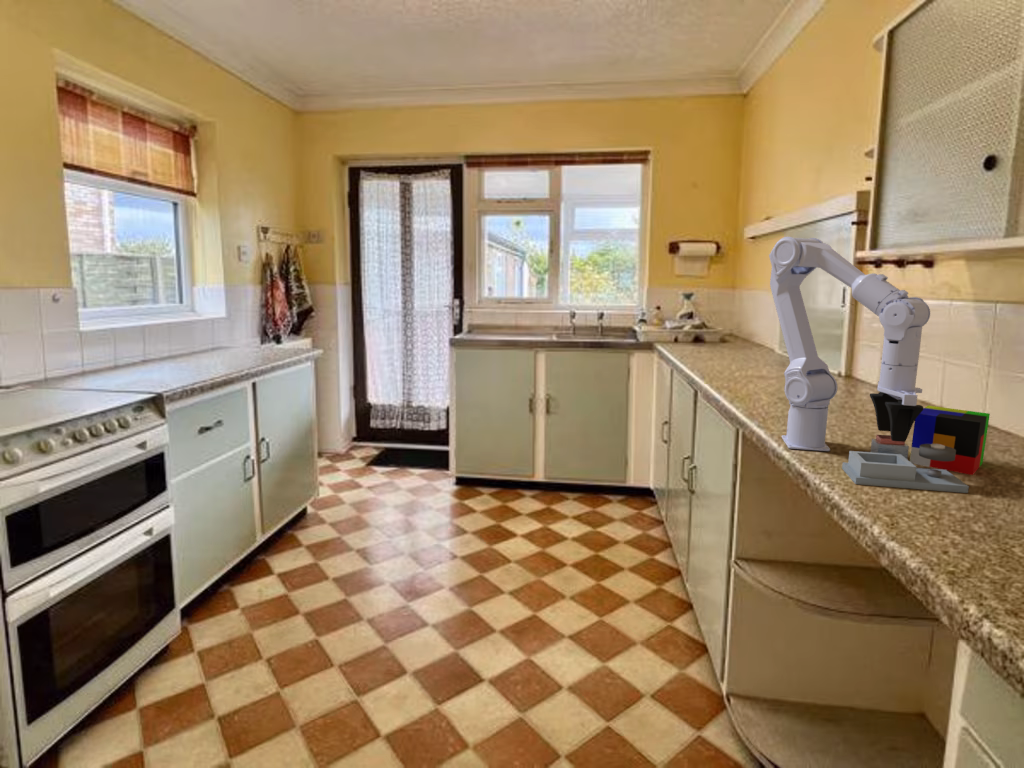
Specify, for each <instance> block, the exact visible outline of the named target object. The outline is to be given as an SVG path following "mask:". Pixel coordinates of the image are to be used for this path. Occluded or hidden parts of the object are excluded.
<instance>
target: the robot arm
mask: <svg viewBox="0 0 1024 768" xmlns="http://www.w3.org/2000/svg"><path fill="white" fill-rule="evenodd" d="M770 251H771V252H770V253H769V254H768V257H769V260H770V264H771V272H770V281H769V287H770V289H771V290H770V291H771V295H772V298H773V302H774V305H775V310H776V313H777V318H778V322H779V325H780V328H781V333H782V337H783V341H784V344H785V348H786V349H785V350H786V351H787V355H788V359H789V364H788V366H787V367H786V368H785V371H784V372H783V375H784V379H785V381H784V382H785V383H784V394H785V397H786V399H787V400H788V402H789V403H788V405H790V407H789V409H788V413H787V423H786V435H784V434H783V435H781V438H782V440H783V442H784V443H785V444H786V446H787V448H788V449H792V450H793V449H795V450H806V451H818V452H819V451H821V452H830V451H831V448H830V447H829V446H828V444H827V443H826V436H827V425H828V424H827V423H828V414H829V405H830V402H831V400H832V399H833V398H834V397H835V396H836V395H837V393H838V392H837V391H838V382H837V379H836V378H835V377H834V376H833V374H832V373H831V372H830V369H829V366H828V364H827V363H826V362H825V361H824V360H823V359H821V358H820V357H819V354H818V351H817V347H816V344H815V340H814V337H813V333H812V329H811V326H810V321H809V318H808V313H807V310H806V307H805V302H804V299H803V294H802V291H801V289H800V288H801V287H800V286H801V284H802V283H803V282H804V280H805V279H806V278H807V277H808V276H809V275H810V274H812V273H813V272H814V271H815V270H816V269H817V268H818V269H821V270H822V271H824V272H826V273H827V274H829V275H830V276H832V277H834V278H835V279H837V280H838V281H840V282H841V283H843V284H844V285H846V286H847V287H848V288H851V297H852V298H853V299H855V301H857V302H859V303H860V305H862V306H864V307H865V308H866V309H867V310H869V311H870V312H872V313H873V314H874V315H876V316H877V317H878V319H879V323H880V324H881V326H882V328H883V346H882V352H881V354H882V355H881V362H880V371H879V381H878V382H877V389H876V390H877V392H878V393H873V392H872V393H869V397H870V399H871V402H872V404H873V407H874V411H875V412H874V413H875V418H876V426H877V430H878V431H879V432H890V435H891V439H892V441H901V442H905V443H906V441H907V440H908V439H907V438H908V437H909V434H910V431H911V429H912V426H914V423H915V419H916V418H917V416H918V415H919V414H920V413H921V412H922V411H923V408H924V405H921V404H917V402H918V394H922V393H923V388H920V387H916V383H917V375H918V367H919V361H920V360H919V359H920V351H921V342H922V334H923V333H922V331H923V327H924V326H925V325H927V323H928V321H929V320H930V318H931V309H930V306H929V304H928V303H927V302H926V301H925V300H924V299H923V298H920V297H917V296H916V297H913V296H912V297H909V292H908V291H907V290H905V289H901V290H900V289H899V288H897V286H895V285H893V284H892V283H890V282H889V281H887V280H888V279H889V277H888V276H887V275H885V274H884V273H882V274H881V273H880V274H877V273H874V272H873V273H868V274H865V273H864V272H863V271H861V270H860V269H858V267H856V266H855V265H854V264H852V262H850V261H849V260H848V259H846V258H845V257H844V256H843V255H841V254H840V253H838V251H836V250H834V249H833V248H832V246H831V245H830V244H829V243H826V242H823V241H822V240H821V239H820V238H817V237H809V238H805V237H804V238H803V237H793V236H783V237H782V238H780V239H779V240H778V241H777V242H776V243H775V244H774V246H773V248H772V249H771V250H770Z"/></svg>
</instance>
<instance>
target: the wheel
mask: <svg viewBox="0 0 1024 768" xmlns="http://www.w3.org/2000/svg"><path fill="white" fill-rule="evenodd" d="M955 455H956V450H955V449H954V448H951V447H948V446H944V445H941V444H921V445H920V448H919V456H921V457H923V458H927V459H931V460H936V461H954V460H955Z"/></svg>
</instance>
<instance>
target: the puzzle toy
mask: <svg viewBox="0 0 1024 768" xmlns="http://www.w3.org/2000/svg"><path fill="white" fill-rule="evenodd" d="M990 416H991V415H990V413H989V412H988V413H987V412H981V411H980V412H979V411H973V410H964V409H957V408H950V407H944V406H943V407H942V406H937V405H936V406H934V405H927V406H925V407H923V411H922V412H921V413H920V414H919V415H918V416H917V418H916V419H915V421H914V423H913V430H912V431H913V432H912V438H911V439H912V440H911V449H910V455H909V461H910V462H911V463H912V464H914V465H918V466H924V467H929V468H932V469H942V470H947V471H948V472H949V471H950V472H954V473H959V474H960V473H961V474H965V475H971V476H973V475H974V474H975V473H976V472H977V471H978V470H979V469H980V467H981V466H982V465H983V461H984V456H985V451H986V450H985V448H986V443H987V435H988V430H989V429H988V428H989V423H990V422H989V420H990ZM921 444H941V445H944V446H948V447H951V448H954V449H955V450H956V455H955V460H954V461H936V460H931V459H927V458H923V457H921V456H919V448H920V445H921Z"/></svg>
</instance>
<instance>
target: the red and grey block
mask: <svg viewBox="0 0 1024 768" xmlns="http://www.w3.org/2000/svg"><path fill="white" fill-rule="evenodd" d="M870 445H871V446H870V452H873V453H887V454H901V455H902V456H903V457H905V458H906V459H907V460H908V457H909V456H908V455H909V448H910V446H909V445H908V444H907V443H906V441H905V442H901V441H892V439H891V434H876V435H875V438H871V444H870Z"/></svg>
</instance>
